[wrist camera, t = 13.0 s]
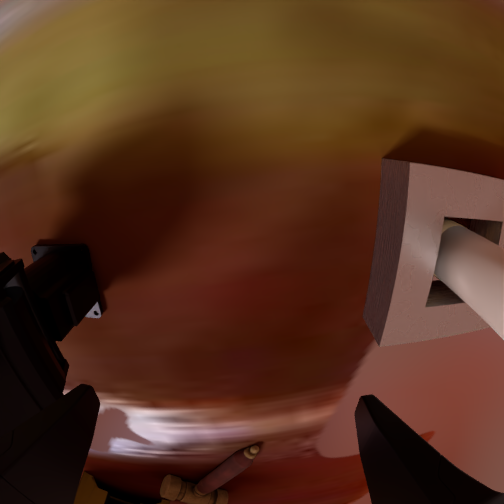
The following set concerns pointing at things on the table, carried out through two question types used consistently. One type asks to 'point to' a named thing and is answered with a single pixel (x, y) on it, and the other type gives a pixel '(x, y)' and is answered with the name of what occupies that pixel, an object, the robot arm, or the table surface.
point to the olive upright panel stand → (96, 493)
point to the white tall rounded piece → (473, 271)
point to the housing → (425, 249)
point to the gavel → (208, 481)
